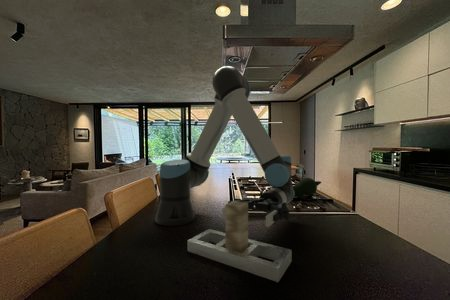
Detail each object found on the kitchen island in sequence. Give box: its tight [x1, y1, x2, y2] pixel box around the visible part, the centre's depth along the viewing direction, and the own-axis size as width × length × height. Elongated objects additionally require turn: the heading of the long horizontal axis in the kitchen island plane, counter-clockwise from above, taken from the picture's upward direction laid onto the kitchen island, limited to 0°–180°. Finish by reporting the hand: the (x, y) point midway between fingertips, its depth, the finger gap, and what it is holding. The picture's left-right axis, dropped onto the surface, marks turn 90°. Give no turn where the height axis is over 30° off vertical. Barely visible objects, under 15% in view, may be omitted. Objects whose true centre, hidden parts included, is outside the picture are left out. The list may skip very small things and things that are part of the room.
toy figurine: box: [292, 177, 322, 199], centre depth 122 cm, size 10×19×26 cm
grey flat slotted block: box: [186, 228, 293, 283], centre depth 58 cm, size 26×10×3 cm, turn 57°
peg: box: [224, 200, 249, 253], centre depth 58 cm, size 4×4×14 cm
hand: (243, 217), depth 60 cm, fingers open, 13 cm apart
